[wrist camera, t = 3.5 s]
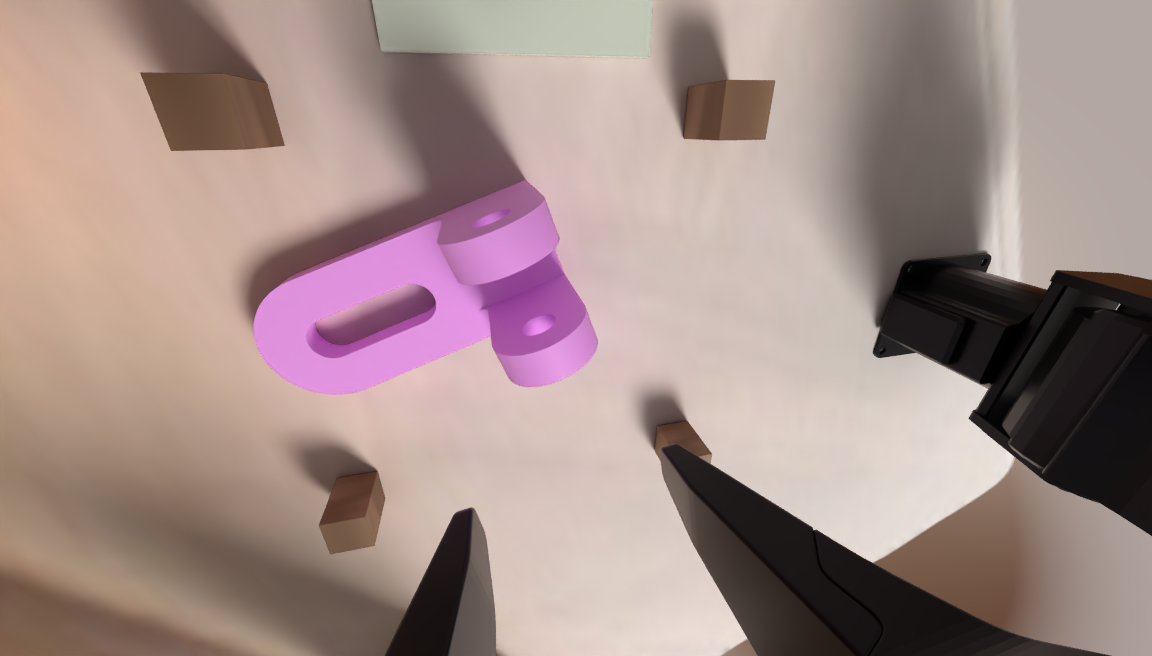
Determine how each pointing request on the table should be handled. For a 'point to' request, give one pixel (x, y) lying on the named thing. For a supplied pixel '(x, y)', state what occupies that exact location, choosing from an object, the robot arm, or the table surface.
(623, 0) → the felt pad
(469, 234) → the bracket
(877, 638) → the robot arm
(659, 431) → the tiny cardboard boxes
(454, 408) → the table surface
